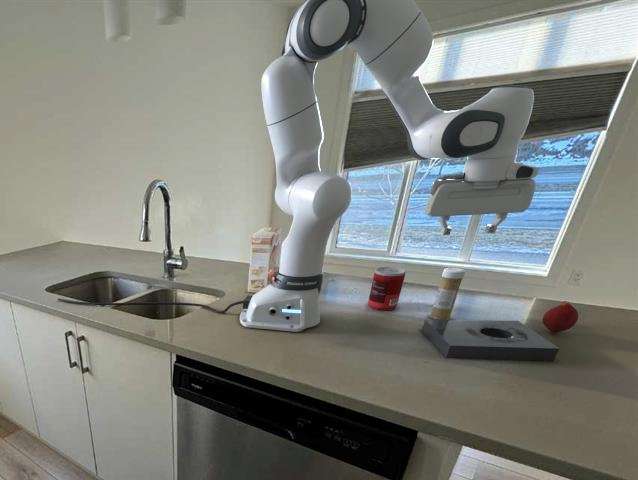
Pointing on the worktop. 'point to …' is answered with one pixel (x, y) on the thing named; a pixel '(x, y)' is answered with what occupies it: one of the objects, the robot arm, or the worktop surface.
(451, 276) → the sprinkles bottle
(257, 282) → the coffeecake box
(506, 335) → the dark grey slab holder
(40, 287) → the worktop surface
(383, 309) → the canned food
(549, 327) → the onion
